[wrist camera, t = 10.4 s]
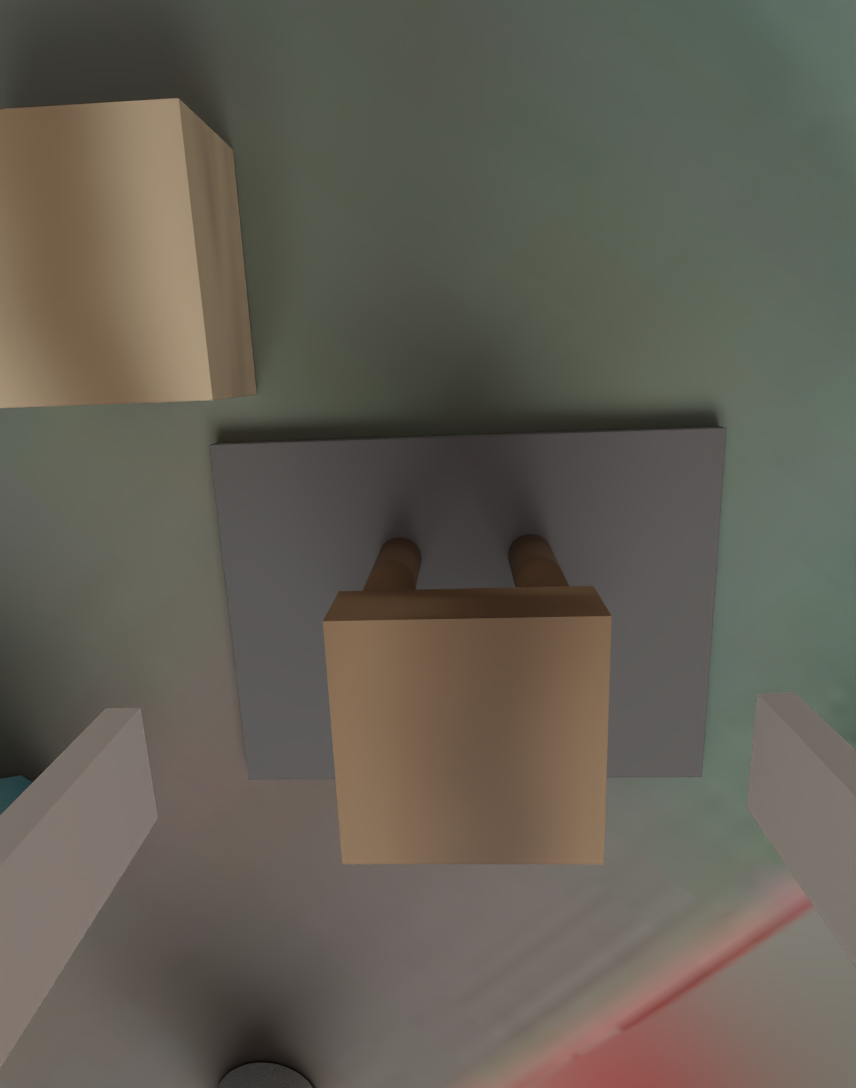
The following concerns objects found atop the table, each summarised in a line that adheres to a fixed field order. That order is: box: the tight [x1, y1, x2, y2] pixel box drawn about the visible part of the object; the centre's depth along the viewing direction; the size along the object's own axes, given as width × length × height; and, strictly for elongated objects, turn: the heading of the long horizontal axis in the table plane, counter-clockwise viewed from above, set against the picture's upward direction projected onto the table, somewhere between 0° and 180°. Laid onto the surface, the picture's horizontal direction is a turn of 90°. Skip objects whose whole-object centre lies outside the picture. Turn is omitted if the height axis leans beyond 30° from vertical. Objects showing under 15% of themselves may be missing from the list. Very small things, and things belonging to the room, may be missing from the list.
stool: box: [323, 534, 612, 864], centre depth 19 cm, size 6×6×8 cm
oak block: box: [0, 98, 257, 408], centre depth 19 cm, size 7×7×4 cm
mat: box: [209, 426, 726, 780], centre depth 23 cm, size 16×12×1 cm
